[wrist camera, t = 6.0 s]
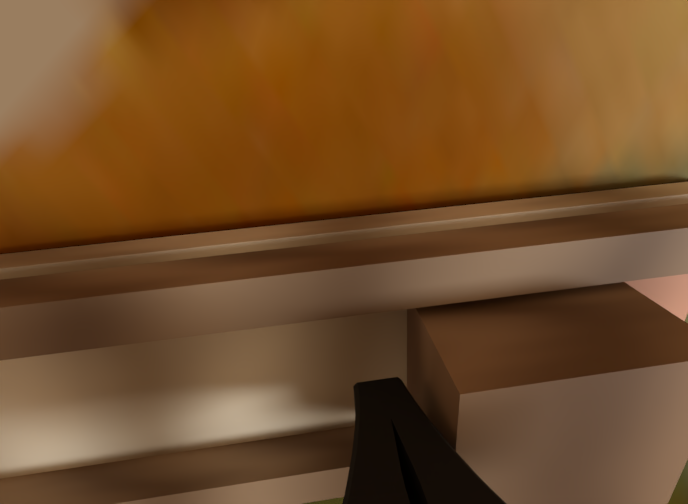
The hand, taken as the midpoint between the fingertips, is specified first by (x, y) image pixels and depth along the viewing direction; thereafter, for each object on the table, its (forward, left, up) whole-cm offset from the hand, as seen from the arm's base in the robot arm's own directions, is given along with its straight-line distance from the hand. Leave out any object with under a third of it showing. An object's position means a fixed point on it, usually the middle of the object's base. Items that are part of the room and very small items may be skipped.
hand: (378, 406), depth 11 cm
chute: (-1, 0, -3) cm, 3 cm away
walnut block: (+4, 0, -2) cm, 5 cm away
